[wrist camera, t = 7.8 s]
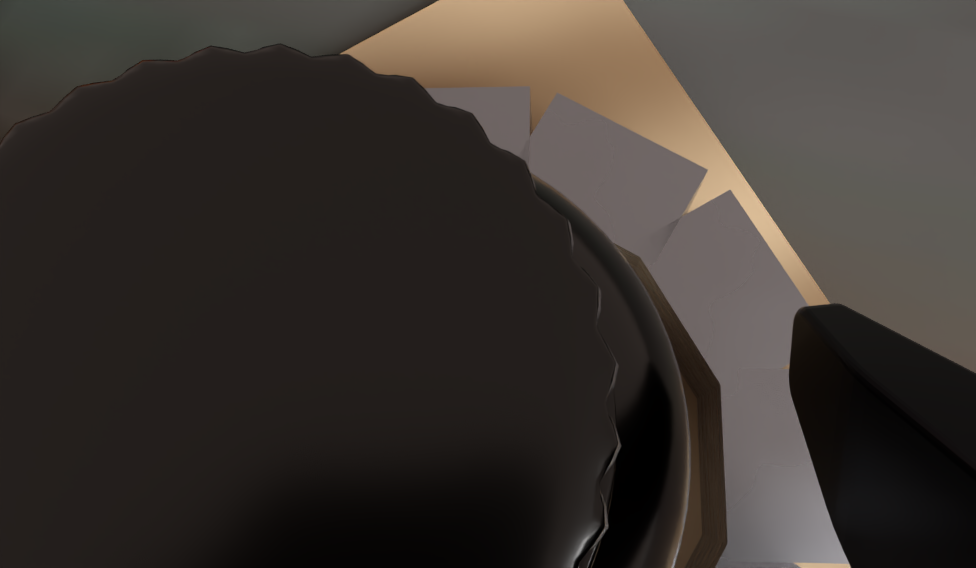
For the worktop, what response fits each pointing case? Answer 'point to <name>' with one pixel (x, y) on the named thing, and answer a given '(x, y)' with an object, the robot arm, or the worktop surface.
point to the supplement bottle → (317, 336)
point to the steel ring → (692, 317)
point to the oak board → (594, 84)
